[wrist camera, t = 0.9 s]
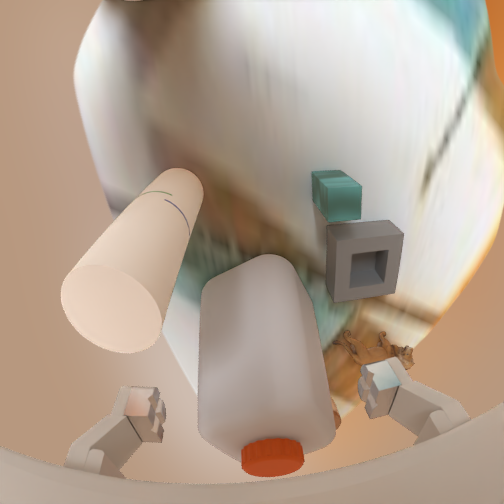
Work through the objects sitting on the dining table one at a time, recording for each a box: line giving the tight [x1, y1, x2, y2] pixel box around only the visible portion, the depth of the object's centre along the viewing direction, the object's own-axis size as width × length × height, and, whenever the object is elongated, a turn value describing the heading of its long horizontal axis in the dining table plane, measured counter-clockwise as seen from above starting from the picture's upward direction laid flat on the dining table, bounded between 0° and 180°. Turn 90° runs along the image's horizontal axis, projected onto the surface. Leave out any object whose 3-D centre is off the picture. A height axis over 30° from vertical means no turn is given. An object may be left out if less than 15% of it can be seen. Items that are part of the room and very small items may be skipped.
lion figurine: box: [333, 331, 414, 370], centre depth 50 cm, size 15×5×9 cm, turn 89°
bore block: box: [326, 220, 404, 303], centre depth 42 cm, size 10×10×5 cm
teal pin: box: [312, 170, 362, 222], centre depth 36 cm, size 4×4×8 cm
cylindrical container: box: [61, 168, 204, 353], centre depth 28 cm, size 7×7×25 cm
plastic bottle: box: [198, 254, 336, 477], centre depth 35 cm, size 15×15×28 cm
